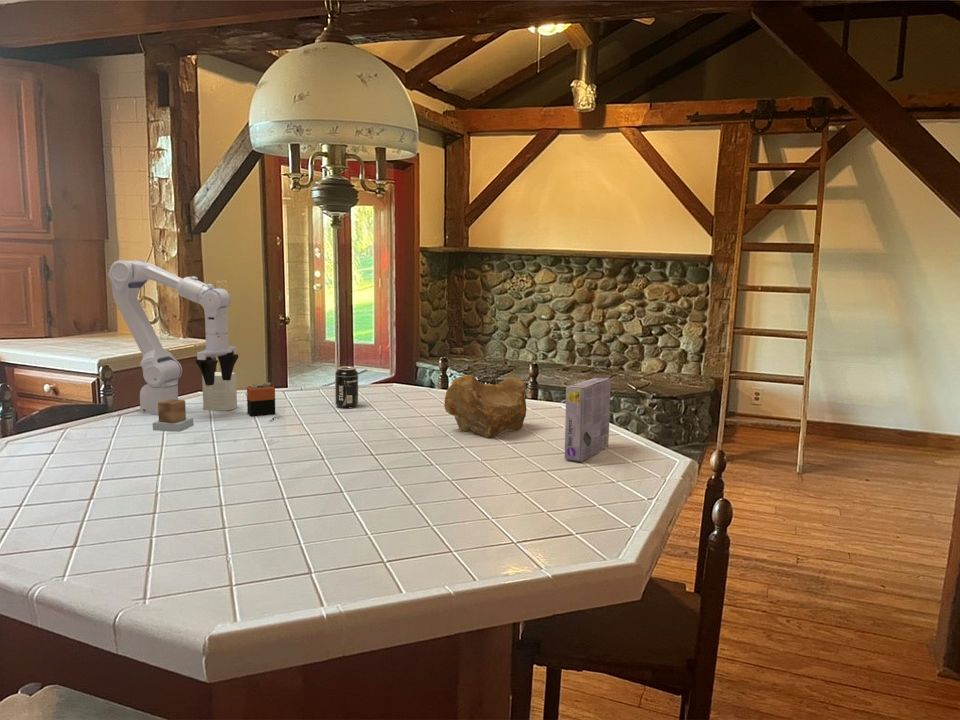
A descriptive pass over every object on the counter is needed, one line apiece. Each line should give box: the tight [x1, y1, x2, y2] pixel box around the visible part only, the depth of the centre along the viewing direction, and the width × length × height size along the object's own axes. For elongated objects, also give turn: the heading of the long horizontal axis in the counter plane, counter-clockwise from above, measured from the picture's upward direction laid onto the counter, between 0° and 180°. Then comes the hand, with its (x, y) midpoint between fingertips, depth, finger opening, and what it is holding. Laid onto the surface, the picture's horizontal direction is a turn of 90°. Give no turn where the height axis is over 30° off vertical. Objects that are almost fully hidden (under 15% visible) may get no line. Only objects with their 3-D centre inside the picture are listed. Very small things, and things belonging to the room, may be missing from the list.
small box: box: [201, 371, 238, 411], centre depth 208 cm, size 8×6×10 cm
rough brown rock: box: [444, 374, 527, 439], centre depth 188 cm, size 23×17×15 cm
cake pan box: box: [564, 377, 612, 463], centre depth 170 cm, size 19×5×18 cm, turn 149°
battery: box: [246, 382, 276, 420], centre depth 196 cm, size 4×7×10 cm, turn 122°
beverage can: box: [334, 365, 359, 409], centre depth 215 cm, size 7×7×12 cm
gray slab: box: [152, 417, 194, 432], centre depth 180 cm, size 7×7×2 cm
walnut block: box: [157, 398, 187, 423], centre depth 179 cm, size 4×4×5 cm
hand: (218, 382), depth 193 cm, fingers open, 7 cm apart
